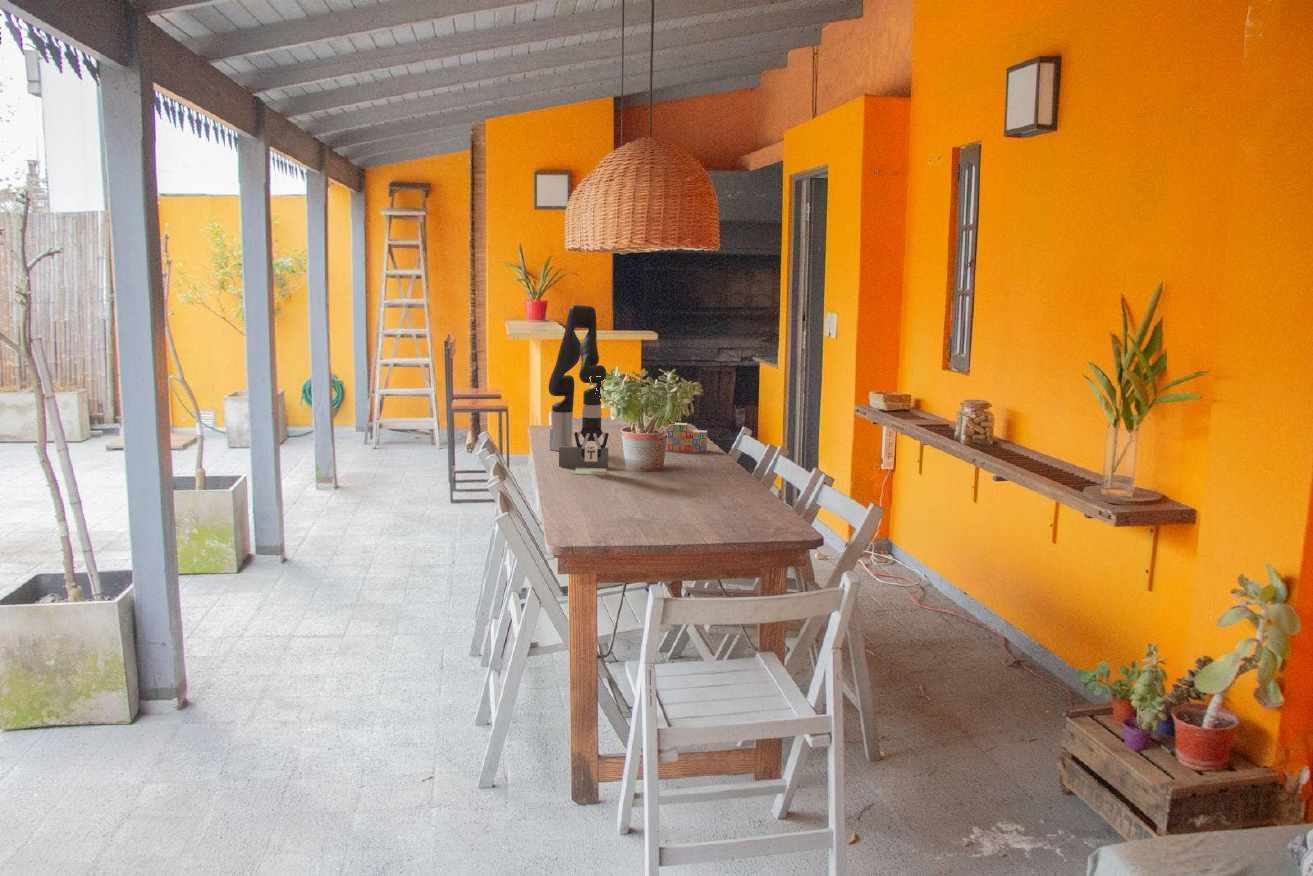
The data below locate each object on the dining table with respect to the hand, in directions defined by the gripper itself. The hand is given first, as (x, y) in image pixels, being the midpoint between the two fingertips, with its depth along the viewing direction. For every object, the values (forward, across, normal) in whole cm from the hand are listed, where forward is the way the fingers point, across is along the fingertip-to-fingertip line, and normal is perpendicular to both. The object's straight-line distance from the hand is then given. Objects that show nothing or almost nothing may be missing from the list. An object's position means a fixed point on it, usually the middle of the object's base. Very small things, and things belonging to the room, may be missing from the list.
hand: (590, 457), depth 402 cm
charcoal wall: (+6, +3, -11) cm, 13 cm away
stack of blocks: (+6, -41, -55) cm, 69 cm away
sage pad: (+6, 0, 0) cm, 6 cm away
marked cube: (+1, 0, 0) cm, 1 cm away
